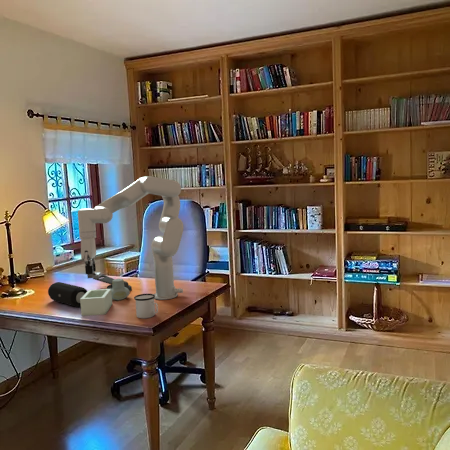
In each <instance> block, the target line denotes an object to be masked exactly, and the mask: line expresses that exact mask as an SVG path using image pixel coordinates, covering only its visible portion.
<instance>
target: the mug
mask: <svg viewBox="0 0 450 450" xmlns="http://www.w3.org/2000/svg"><path fill="white" fill-rule="evenodd" d="M154 294H155V293H141V294H138V295H135V296H134V297H133V299H134V300H135V311H136V314H135V315H136V318H139V319H150V318H152V317H154V316H155V315H156V314H158V313H159V305H158V303H157V302H155V299H154V298H155V295H154Z"/></svg>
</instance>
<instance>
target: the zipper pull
mask: <svg viewBox="0 0 450 450" xmlns="http://www.w3.org/2000/svg"><path fill="white" fill-rule="evenodd" d="M114 279H115V278H112V277H110V276H109V275H108V276H107V275H105V274H101V276H100V277H99V278H92V280H96V281H99V282H101V283H105V284H108V285H107V286H106V289H112V288H113V287H112V281H113V280H114ZM124 287H126V288H128V289H129V291H130V292H131V291H132V290H133V289H132V288H133V287H132V285H129V283H128V281H126V280H124Z"/></svg>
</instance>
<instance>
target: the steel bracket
mask: <svg viewBox="0 0 450 450" xmlns="http://www.w3.org/2000/svg"><path fill="white" fill-rule="evenodd" d="M89 262H90V261H89ZM91 266H92V269H93V274H86V275H87V276H86V277H87V279H93V278H98V279H100V278H99V277H100V276H101V275H102V273H101V272H94V262H93V259H91Z"/></svg>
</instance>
